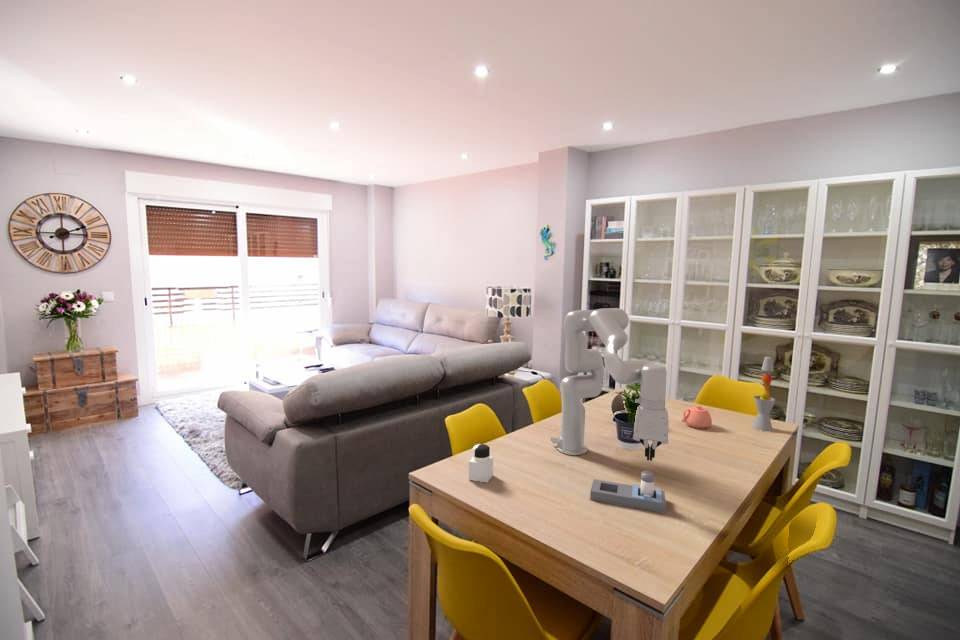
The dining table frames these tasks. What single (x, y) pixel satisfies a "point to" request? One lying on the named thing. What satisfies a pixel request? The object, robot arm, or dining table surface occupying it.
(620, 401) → the wooden sphere
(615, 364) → the robot arm
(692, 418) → the pink rounded piece
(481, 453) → the medicine bottle
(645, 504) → the grey slotted holder
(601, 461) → the dining table surface
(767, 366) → the lava lamp
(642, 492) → the plug
